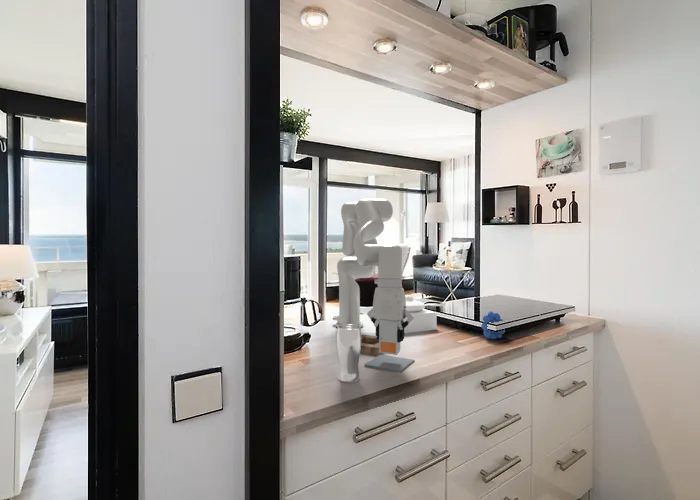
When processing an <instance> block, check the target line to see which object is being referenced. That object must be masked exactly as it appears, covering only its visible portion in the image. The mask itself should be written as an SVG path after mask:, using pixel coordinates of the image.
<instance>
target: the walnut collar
mask: <svg viewBox="0 0 700 500" xmlns="http://www.w3.org/2000/svg"><path fill="white" fill-rule="evenodd" d="M360 354H365V355H372V356H376V357H377V356H379V355H381V354H382V355H383V353H379V339H377V336H376V335H375V336H374V335H368V334H361V351H360Z"/></svg>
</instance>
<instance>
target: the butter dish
mask: <svg viewBox="0 0 700 500" xmlns="http://www.w3.org/2000/svg"><path fill="white" fill-rule="evenodd" d="M405 299H406V309H407V311H408V312H409V313H410V314H411V315H412V316H413V317H414V319H413V320H412V321H411V322H410V323H409V324H408V325H407V326H406V328H404V334H409V333H417V332H419V333H420V332H426V331H434V330H437V329H438V328H437V325H438V324H437V323H438V321H437V320H438V319H437V317H438V316H437V313H436V312H434V311H432V310H428V309H426V304H425V303H424V302H422V301H419V300H415V299H414V297H413V296H412V295H411V294H405ZM403 320H404V322H405V321H406V320H407V317H406V318H405V319H403Z"/></svg>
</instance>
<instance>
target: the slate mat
mask: <svg viewBox="0 0 700 500" xmlns="http://www.w3.org/2000/svg"><path fill="white" fill-rule="evenodd" d="M413 363H415V359H412V358H405V357H400V356H395V355H394V356H393V355H389V354H383V353H382V354H380V355H379V356H377V355H376V356H375V357H374V358H373V359H370V360H369V361H368V362H365V363H363V364H364V365H363V366H364V368H368V369H376V370H380V371H386V372H390V373H391V372H392V373H397V374H401V373H402V372H403V371H404V370H406V369H407V368H409V367H410V366H411V365H412V364H413Z"/></svg>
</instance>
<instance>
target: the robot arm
mask: <svg viewBox="0 0 700 500" xmlns="http://www.w3.org/2000/svg"><path fill="white" fill-rule="evenodd" d="M393 208H394V207H393V205H392V203H391V201H390V200H388V199H385V198H362V199H359V200H358V201H352V202H351V201H349V202H348V201H347V202H345V203H343V204H342V205H341V210H340V214H341V215H340V216H341V219H342V223H343V233H342V235H343V236H342V244H341V246H342V247H341V249H342V254H343V255H344V256H345V257H343V258H340V259H339V260H338V262H337V264H336V265H337V266H336V268H337V275H338V276H337V277H338V298H339V299H338V300H339V301H338V302H339V303H338V305H339V306H338V308H339V309H338V311H339V312H338V315H336V314H335V315H334V314H333V317H332V320H333V321H336V322H335V327H337V328H338V326H339V325H344V324H354V325H359V326H360V327H361V328H362V327H363V326H364V323H363V322H362V321H360V319H361V316H360V315H361V314H360V313H361V305H360V303H361V301H360V299H361V295H360V294H361V290H360V285H359V284H358V282H357V281H356V280H355V279H368V278H372V277H373V276H374V274H375V270H376V267H377V279H374V284H375V285H377V287H375V289H374V292H373V293H374V294H373V301H372V308H371V309H370V310H369V311H368V312H367V313H366V315H367V317H368V318H369V319H370V321H371V322H372V324H373V326H374V327H375V336H376V337H377V339H379V319H380V320H388V321H398V327H399V329H398V330H397V342H399V343H400V344H401V342H404V339H405V333H404V328H406V326H407V325H408V324H409V323H410V322H411V321H412V320H413V319H414V317H413V316H412V315H411V314H410V313H409V312H408V311H407V309H406V299H405V296H406V293H405V289H404V288H403V285H402V284H403V283H402V281H403V276H402V275H403V272H402V271H403V269H402V268H403V267H402V266H403V265H402V263H403V261H402V260H403V252H402V251H403V250H402V247H401V246H400V245H399V244H398V245H397V244H389V243H388V244H385V243H383V244H382V243H379V244H378V240H377V239H376V238H377V237H379V236H380V235H381V234H382V233H383V232H384V231H385V230H384V229H385V224H384V223H385V222H388V221H390V220H391V219H392V217H393V213H394V210H393ZM406 317H407V320H406V321H405V322H404V320H403V319H405V318H406Z"/></svg>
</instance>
